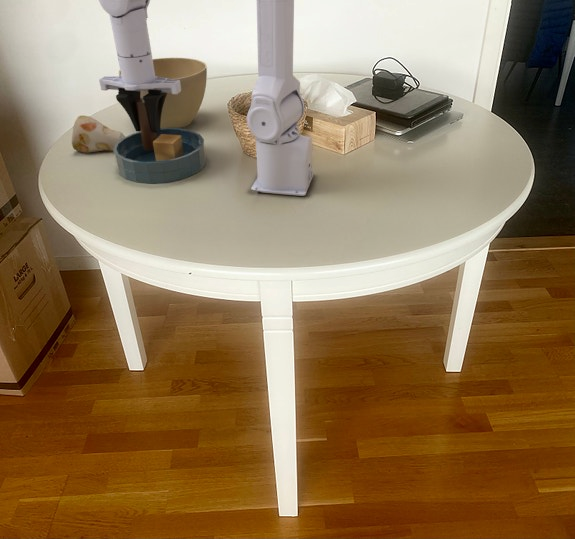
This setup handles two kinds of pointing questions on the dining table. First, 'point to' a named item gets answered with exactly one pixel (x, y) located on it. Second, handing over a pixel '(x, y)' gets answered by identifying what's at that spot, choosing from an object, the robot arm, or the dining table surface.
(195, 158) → the bowl
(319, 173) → the dining table surface
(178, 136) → the block
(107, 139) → the cream tapered piece
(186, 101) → the flower pot
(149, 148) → the stick
